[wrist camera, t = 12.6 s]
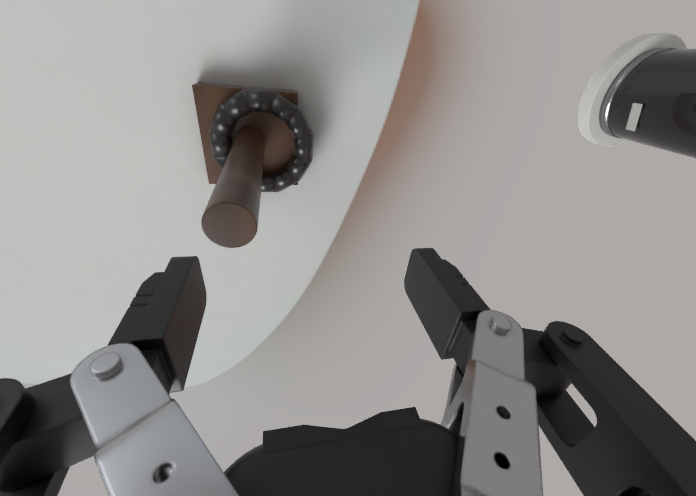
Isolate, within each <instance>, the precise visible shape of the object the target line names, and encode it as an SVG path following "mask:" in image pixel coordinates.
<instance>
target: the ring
mask: <svg viewBox="0 0 696 496" xmlns="http://www.w3.org/2000/svg"><path fill="white" fill-rule="evenodd" d="M251 112H265V113H271V114H273V115H274V116H276V117H278V118H279V119H281V120H282V121H284V122H285V123H286V124H287V126H288V128H289V129H290V131H291V133H292V135H293V137H294V156H293V157H292V159H291V161H290V162H289V164H288V166H287V167H286V168H284V169H282V170H280V171H278V172H277V173H275V174H262V185H261V192H279V191H281V190H283V189H285V188H287V187H289V186H291V185H293V184H295V183H296V182H298V181H299V180H300V179H301V178H302V176H303V175H304V173H305V171H306V170H307V168H308V167H309V165H310V163H311V162H312V157H313V133H312V131H311V129H310V127H309V125H308V123H307V121H306V119H305V117H304V115H303V113H302V111H301V110H300V108H299V107H297V106H296V105H295V104H293V103H292V102H290V101H289V100H287V99H286V98H284V97H283V96H282V95H280V94H279V93H277V92H275V91H269V90H257V89H244V90H242V91H240V92H238V93H236V94H235V95H233V96H231V97H229V98H228V99H226V100H224V101H222V102H221V103H220V104H219V106H218V108H217V110H216V113H215V115H214V117H213V119H212V121H211V124H210V126H209V130H208V131H209V137H210V144H211V150H212V156H213V158H214V160H215V161H216V162H217V164H218V165H219V166H220V168H221V169H223V167H224V164H225V162H226V160H227V157H228V155H229V152H230V150H231V148H232V146H231V137H230V134H231V132H232V130H233V128H234V126H235V124H236V122H237V120H238V119H240V118H242V117H244V116H246V115H247V114H249V113H251Z"/></svg>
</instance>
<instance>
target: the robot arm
mask: <svg viewBox="0 0 696 496" xmlns="http://www.w3.org/2000/svg"><path fill="white" fill-rule="evenodd" d="M599 123H600V127H601V129H602V130H603V132H604V133H605V134H607V135H609V136H612V137H616V138H621V139H627V140H631V141H635V142H638V143H641V144H645V145H649V146H653V147H657V148H660V149H664V150H668V151H672V152H675V153H679V154H683V155H687V156H690V157H694V158H696V49H676V48H654V49H651V50H648V51H646V52H644V53H642V54H640V55H639V56H637V57H636V58H634V59H633V60H632V61H631V62H629V63H628V64H627V65H626V66H625V67H624V68H623V69H622V70H621V71H620V73H619V74H618V75H617V76H616V77H615V79H614V80H613V82H612V83H611V85H610V86H609V88H608V90H607V92H606V94H605V96H604V98H603V101H602V104H601V107H600V112H599ZM404 282H405V283H404V284H405V291H406V293H407V295H408V297H409V299H410V301H411V303H412V305H413V307H414V309H415V311H416V313H417V314H418V316H419V318H420V320H421V322H422V324H423V326H424V328H425V330H426V331H427V333H428V335H429V337H430V339H431V341H432V343H433V345H434V346H435V349H436V350H437V352H438V354H439V356H440V358H441V359H449V358H454V360H455V361H456V364H455V366H454V369H453V374H452V380H451V384H450V389H449V394H448V399H447V404H446V408H445V413H444V416H443V419H442V422H441V425H440V424H437V423H434V422H431V421H428V420H424V419H420V418H419V416H418V413H417V410H416V408H415V407H412V408H405V409H400V410H393V411H387V412H381V413H379V414H377V415H375V416H373V417H371V418H368V419H366V420H364V421H362V422H360V423H358V424H356V425H354V426H352V427H350V428H347V429H336V428H328V427H318V426H310V425H301V426H294V427H288V428H281V429H275V430H269V431H264V432H263V444H262V445H260V446H257V447H255V448H254V449H252V450H250V451H249V452H247V453H245V454H244V455H243V456H241V457H240V458H239V459H237V460H236V461H235V462H234V463H233V464H232V465H231V466H230V467H229V468H227V469H226V471H225V472H223V471H222V469H221V468H220V467H219V465H218V463H217V462H216V460H215V459H214V457H213V456H212V454H211V453H210V451H209V450H208V448H207V447H206V445H205V444H204V442H203V441H202V439H201V438H200V436H199V435H198V433H197V431H196V430H195V428H194V427H193V425H192V424H191V422H190V421H189V419H188V418H187V416H186V415H185V413H184V412H183V410H182V409H181V407H180V406H179V404H178V403H177V402H176V400H175V399H171V397H170V396H169V393H170V392H179V391H183V389H184V385H185V382H186V378H187V374H188V371H189V367H190V363H191V359H192V356H193V352H194V348H195V344H196V341H197V337H198V333H199V329H200V326H201V322H202V318H203V314H204V311H205V307H206V289H205V285H204V280H203V276H202V271H201V267H200V263H199V259H198V257H197V256H191V257H172V258H171V260H170V262H169V264H168V266H167V268H166V270H165V272H158V273H154V274H153V275H152V276H150V277H149V278H148V279H147V280H146V281H144V282H143V283H142V285H141V286H140V288H139V290H138V292H137V294H136V297H134V299H133V301H132V303H131V304H130V307H129V308H128V310H127V312H126V313H125V315H124V317H123V319H122V320H121V322H120V324H119V326H118V328H117V329H116V331H115V333H114V335H113V337H112V338H111V340H110V342H109V344H108V346H106V347H103V348H101V349H99V350H97V351H95V352H93V353H91V354H90V355H88V356H87V357H86V358H84V359H83V360H82V361H81V362H80V363H79V364H78V365H77V366H76V368H75V369H74V371H73V372H72V373H71V374H69V375H66V376H63V377H60V378H57V379H54V380H51V381H48V382H45V383H42V384H39V385H36V386H33V387H29V388H26V389H25V388H24V386H22V384H21V383H20V382H19V381H17V380H15V379H8V378H4V379H0V496H57V495H58V493H59V490H60V488H61V485H62V483H63V481H64V479H65V476H66V474H67V471H68V469H69V467H70V466H72V465H74V464H76V463H78V462H81V461H83V460H85V459H87V458H90V457H92V456H94V458H95V462H96V464H97V467H98V469H99V472H100V475H101V477H102V480H103V482H104V485H105V487H106V490H107V492H108V495H109V496H543V486H542V471H541V457H540V442H539V427H538V424H539V426H540V428H541V429H542V431H543V432H544V434H545V435H546V437H547V438H548V440H549V442H550V443H551V445H552V446H553V448H554V449H555V451H556V452H557V454H558V456H559V457H560V459H561V460H562V462H563V464H564V465H565V467H566V468H567V470H568V471H569V473H570V475H571V476H572V478H573V479H574V481H575V482H576V484H577V486H578V487H579V489H580V490H581V492H582V493H583V495H584V496H696V441H695V440H694V439H693V438H692V437H691V436H690V435H689V434H688V433H687V432H686V431H685V430H684V429H683V428H682V427H681V426H680V425H679V424H678V423H677V422H676V421H675V420H674V419H673V418H672V417H671V416H670V415H669V414H668V413H667V412H666V411H665V410H664V409H663V408H662V407H661V406H660V405H659V404H658V403H656V401H655V400H654V399H653V398H652V397H651V396H649V394H648V393H647V392H645V390H644V389H643V388H642V387H640V386H639V384H638V383H636V382H635V380H633V379H632V378H631V377H630V376H629V375H628V374H627V373H626V372H625V371H624V370H623V369H622V368H621V367H620V366H619V365H618V364H617V363H616V362H615V361H614V360H613V359H612V358H611V357H610V356H609V355H608V354H607V353H606V352H605V351H604V350H603V349H602V348H601V347H600V346H599V345H598V344H597V343H596V342H595V341H594V340H593V339H592V338H591V337H590V336H589V335H588V334H587V333H585V332H584V331H583V330H580V329H579V328H578V327H576V326H573V325H571V324H568V323H565V322H560V321H555V322H551V323H549V324H548V326H547V327H546V329H545V331H544V332H542V331H537V330H530V329H525V328H521V326H520V325H519V324H518V323H517V322H516V321H515V320H514V319H513V318H511V317H510V316H508V315H506V314H504V313H502V312H499V311H495V310H490V309H489V307H488V306H487V305H486V304H485V303H484V301H483V300H482V299H481V298H480V296H479V295H478V294H477V293H476V291H475V290H474V289H473V288H472V286H471V285H469V283H468V282H467V280H466V279H465V278H463V275H462V274H461V273H460V272H459V270H458V269H457V268H456V267H455V266H453V265H452V264H450V263H449V262H448V261H446V260H442V259H441V258H440V256H439V255H438V254H437V252H436V251H435V250H434V249H433V248H421V249H420V248H419V249H413V250H412V252H411V255H410V259H409V264H408V267H407V271H406V275H405V280H404ZM571 383H572V384H573V385H574V386H575V388H576V389H577V390H578V391H579V392H580V394H581V395H582V396H583V397H584V399H585V400H586V401H587V402H588V403H589V405H590V406H591V407H592V409H593V410H594V412H595V414H596V417H597V425H596V427H594V426H593V424H592V423H591V422H590V421H589V419H588V418H587V417H586V415H585V414H584V413H583V412H582V411H581V409H580V408H579V407H578V405H577V404H576V403H575V401H574V400H573V399H572V398H571V396H570V395H569V394H568V392H567V391H566V389H567V388H568V387H569V385H570V384H571Z"/></svg>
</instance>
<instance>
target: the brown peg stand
mask: <svg viewBox="0 0 696 496" xmlns="http://www.w3.org/2000/svg"><path fill="white" fill-rule="evenodd" d="M192 88H193V93H194V99H195V105H196V111H197V117H198V122H199V128H200V134H201V140H202V145H203V151H204V157H205V163H206V169H207V174H208V180H209V184H216V186H215V188H214V190H213V193H212V195H211V197H210V200H209V202H208V205H207V207H206V209H205V212H204V214H203V217H202V228H203V231H204V233H205V235H206V236H207V237H208V238H209V239H210V240H211V241H212V242H214V243H216V244H218V245H220V246H223V247H229V248H235V247H241V246H244V245H246V244H247V243H249V242H250V241H251V240H252V239H253V238H254V237H255V235H256V232H257V227H258V216H259V206H260V195H261V185H262V174H275V173H277V172H278V171H280V170H282V169H284V168H286V167H287V166H288V164H289V162H290V161H291V159H292V157H293V156H294V137H293V135H292V133H291V131H290V129H289V128H288V126H287V124H286V123H285V122H284V121H282V120H281V119H279V118H278V117H276V116H274V115H273V114H271V113H265V112H251V113H249V114H247V115H246V116H244V117H242V118H240V119H238V120H237V122H236V124H235V126H234V128H233V130H232V132H231V134H230V137H231V146H232V148H231V150H230V152H229V155H228V157H227V160H226V162H225V164H224V167H223V169H221V168H220V166H219V165H218V164H217V162H216V161H215V160H214V158H213V156H212V150H211V144H210V137H209V131H208V130H209V126H210V124H211V121H212V119H213V117H214V115H215V113H216V110H217V108H218V106H219V104H220V103H221V102H222V101H224V100H226V99H228V98H229V97H231V96H233V95H235V94H236V93H238V92H240V91H242V90H244V89H257V90H269V91H275V92H277V93H279V94H280V95H282V96H283V97H284V98H286V99H287V100H289V101H290V102H292V103H293V104H295V105H296V106H297V107H298V93H297V91H294V90H281V89H268V88H256V87H243V86H230V85H217V84H204V83H196V84H194V85H192ZM293 185H298V182H296V183H295V184H293Z"/></svg>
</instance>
